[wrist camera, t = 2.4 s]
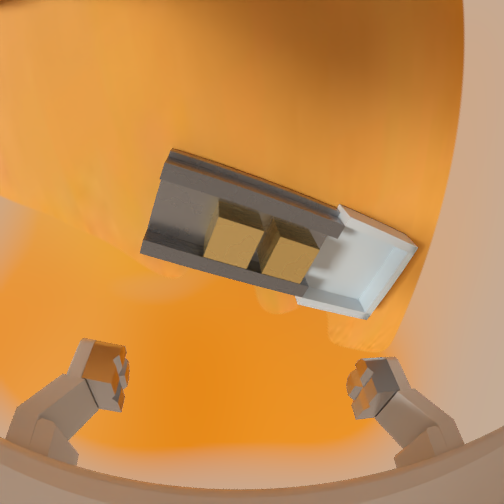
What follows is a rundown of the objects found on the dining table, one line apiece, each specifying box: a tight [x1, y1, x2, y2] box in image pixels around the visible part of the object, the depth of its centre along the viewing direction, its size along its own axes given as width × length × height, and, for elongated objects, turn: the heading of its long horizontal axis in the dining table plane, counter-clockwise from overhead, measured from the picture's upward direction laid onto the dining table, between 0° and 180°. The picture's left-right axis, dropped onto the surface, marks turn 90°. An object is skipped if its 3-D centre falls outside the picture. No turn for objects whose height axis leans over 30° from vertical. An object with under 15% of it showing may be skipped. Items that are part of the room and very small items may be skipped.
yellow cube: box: [257, 219, 320, 284], centre depth 29 cm, size 4×4×4 cm
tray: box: [295, 204, 418, 320], centre depth 33 cm, size 10×11×3 cm
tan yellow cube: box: [203, 200, 264, 269], centre depth 27 cm, size 4×4×4 cm
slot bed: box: [140, 148, 345, 297], centre depth 29 cm, size 17×10×3 cm, turn 68°
